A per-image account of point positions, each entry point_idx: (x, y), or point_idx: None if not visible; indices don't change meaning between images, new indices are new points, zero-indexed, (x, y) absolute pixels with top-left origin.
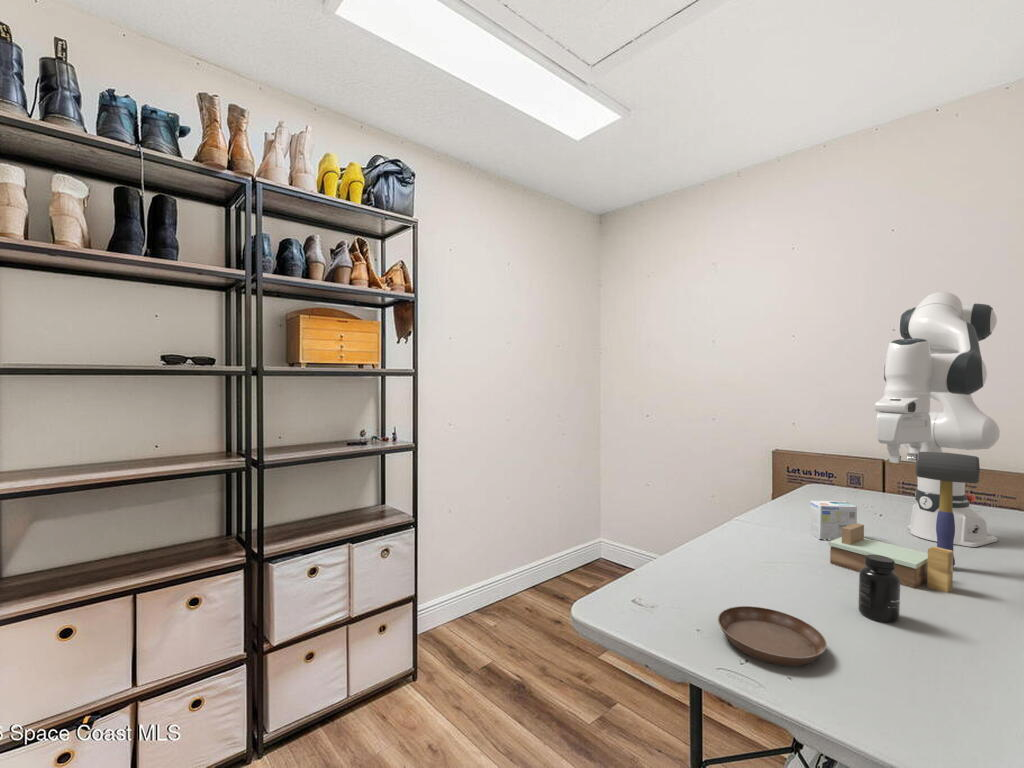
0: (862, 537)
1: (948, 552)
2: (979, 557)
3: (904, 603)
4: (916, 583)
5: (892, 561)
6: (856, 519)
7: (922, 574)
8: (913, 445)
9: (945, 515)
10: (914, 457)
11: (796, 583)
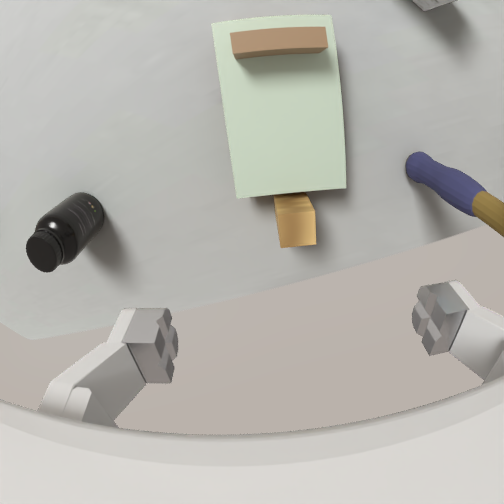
0: (312, 52)
1: (293, 244)
2: (499, 182)
3: (157, 205)
4: None
5: (48, 271)
6: (450, 1)
7: None
8: (494, 371)
9: (464, 205)
10: (426, 328)
11: (69, 91)
